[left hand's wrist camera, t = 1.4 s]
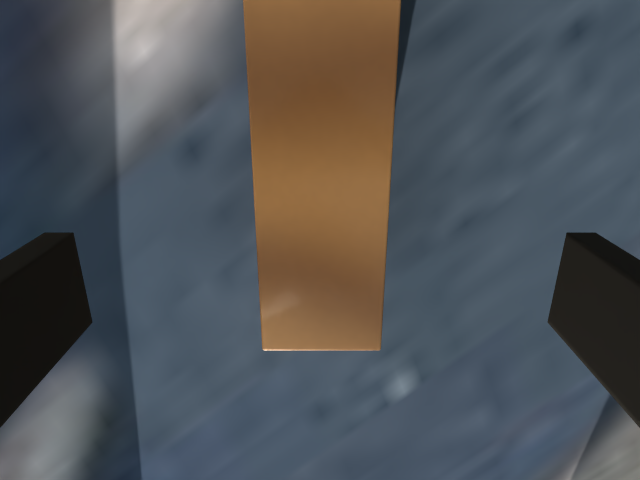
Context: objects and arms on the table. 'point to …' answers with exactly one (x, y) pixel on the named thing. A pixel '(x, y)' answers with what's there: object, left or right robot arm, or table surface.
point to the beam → (321, 166)
